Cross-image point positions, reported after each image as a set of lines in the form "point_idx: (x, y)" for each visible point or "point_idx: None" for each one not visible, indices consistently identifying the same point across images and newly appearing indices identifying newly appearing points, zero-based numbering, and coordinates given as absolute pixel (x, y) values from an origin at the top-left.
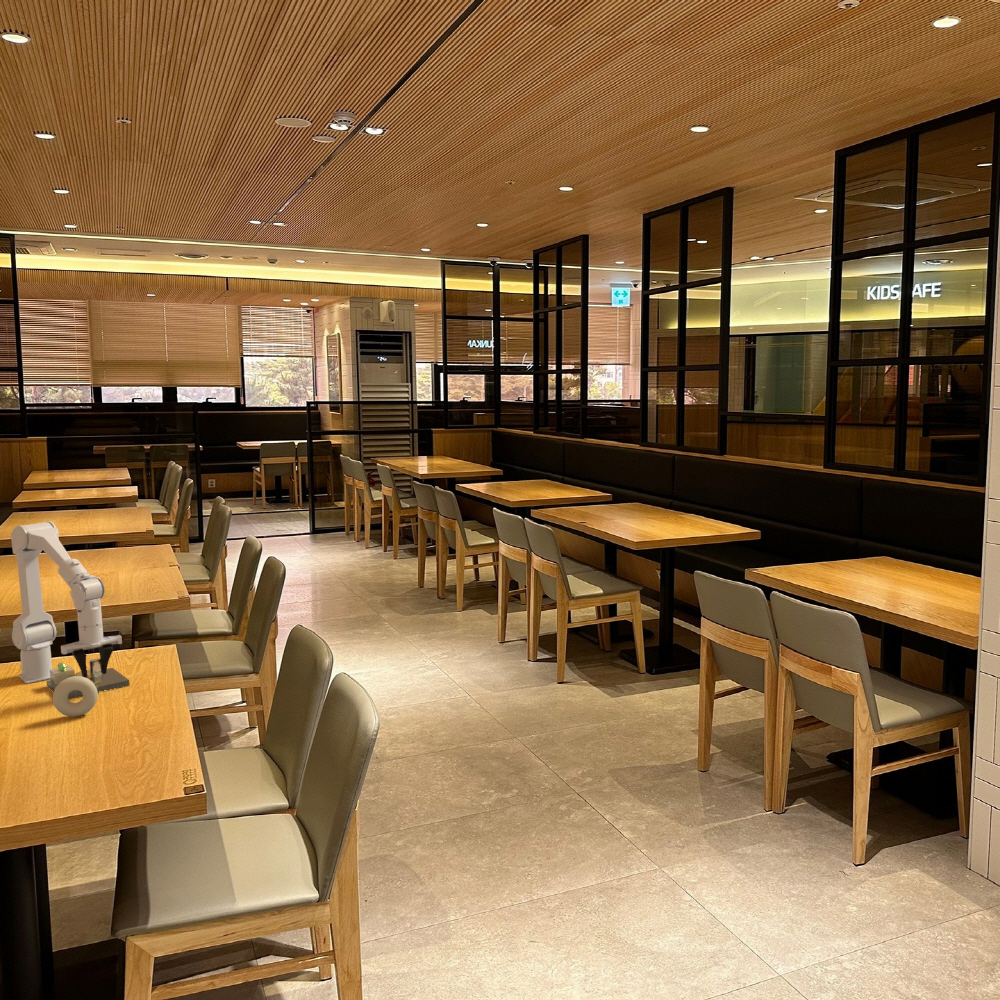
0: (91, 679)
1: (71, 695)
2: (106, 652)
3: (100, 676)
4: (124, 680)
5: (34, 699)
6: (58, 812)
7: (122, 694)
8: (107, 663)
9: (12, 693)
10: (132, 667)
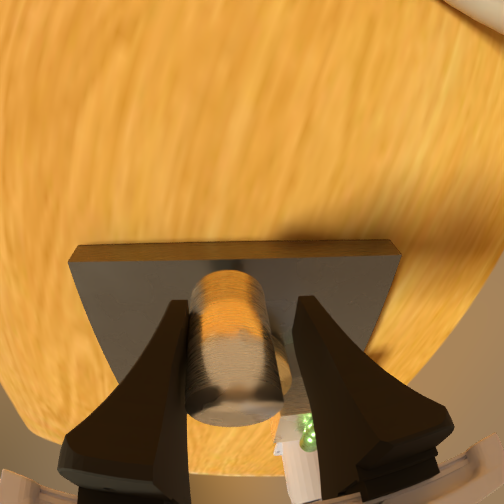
0: (263, 294)
1: (354, 248)
2: (133, 440)
3: (212, 285)
4: (88, 272)
5: (422, 307)
6: None
7: (126, 123)
8: (146, 350)
9: (411, 374)
10: (82, 397)
